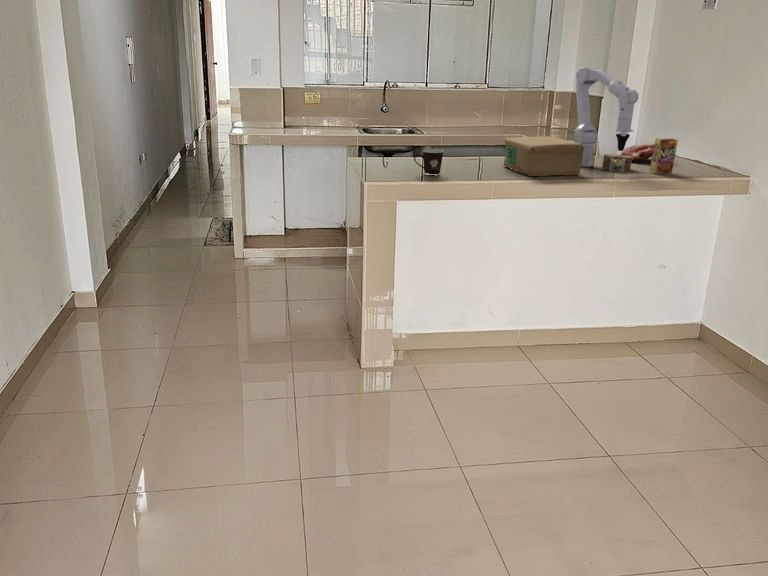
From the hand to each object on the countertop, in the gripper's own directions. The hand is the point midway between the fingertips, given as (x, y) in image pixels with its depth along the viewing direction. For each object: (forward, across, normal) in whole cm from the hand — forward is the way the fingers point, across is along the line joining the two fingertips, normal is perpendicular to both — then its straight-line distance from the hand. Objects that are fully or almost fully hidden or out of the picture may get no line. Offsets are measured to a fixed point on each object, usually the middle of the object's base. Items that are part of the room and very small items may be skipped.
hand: (620, 150), depth 296 cm
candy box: (+10, +7, -19) cm, 22 cm away
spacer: (+10, +5, 0) cm, 11 cm away
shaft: (+10, +8, 0) cm, 12 cm away
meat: (+10, +38, -13) cm, 42 cm away
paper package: (+10, -9, +33) cm, 36 cm away
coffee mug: (+10, -36, +78) cm, 86 cm away
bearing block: (+10, +10, 0) cm, 14 cm away
